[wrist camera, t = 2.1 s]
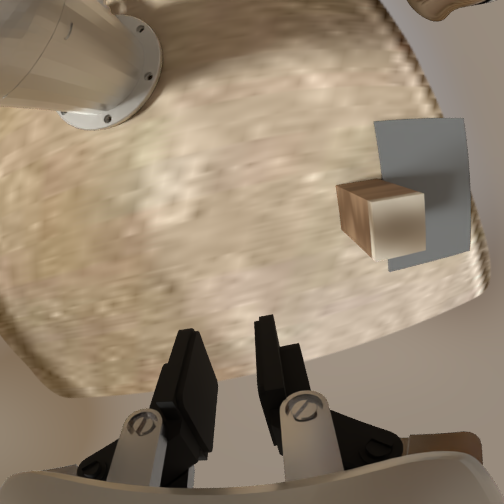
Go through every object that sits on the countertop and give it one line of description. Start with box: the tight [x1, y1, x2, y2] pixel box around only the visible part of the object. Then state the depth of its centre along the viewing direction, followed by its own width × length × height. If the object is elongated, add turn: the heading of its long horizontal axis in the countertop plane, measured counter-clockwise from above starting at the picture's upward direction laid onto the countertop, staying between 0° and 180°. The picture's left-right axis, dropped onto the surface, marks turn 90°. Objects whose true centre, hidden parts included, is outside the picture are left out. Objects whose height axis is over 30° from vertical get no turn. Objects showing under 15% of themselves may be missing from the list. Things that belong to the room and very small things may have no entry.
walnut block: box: [336, 179, 426, 262], centre depth 25 cm, size 4×4×9 cm
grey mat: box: [374, 118, 471, 272], centre depth 28 cm, size 16×12×1 cm
